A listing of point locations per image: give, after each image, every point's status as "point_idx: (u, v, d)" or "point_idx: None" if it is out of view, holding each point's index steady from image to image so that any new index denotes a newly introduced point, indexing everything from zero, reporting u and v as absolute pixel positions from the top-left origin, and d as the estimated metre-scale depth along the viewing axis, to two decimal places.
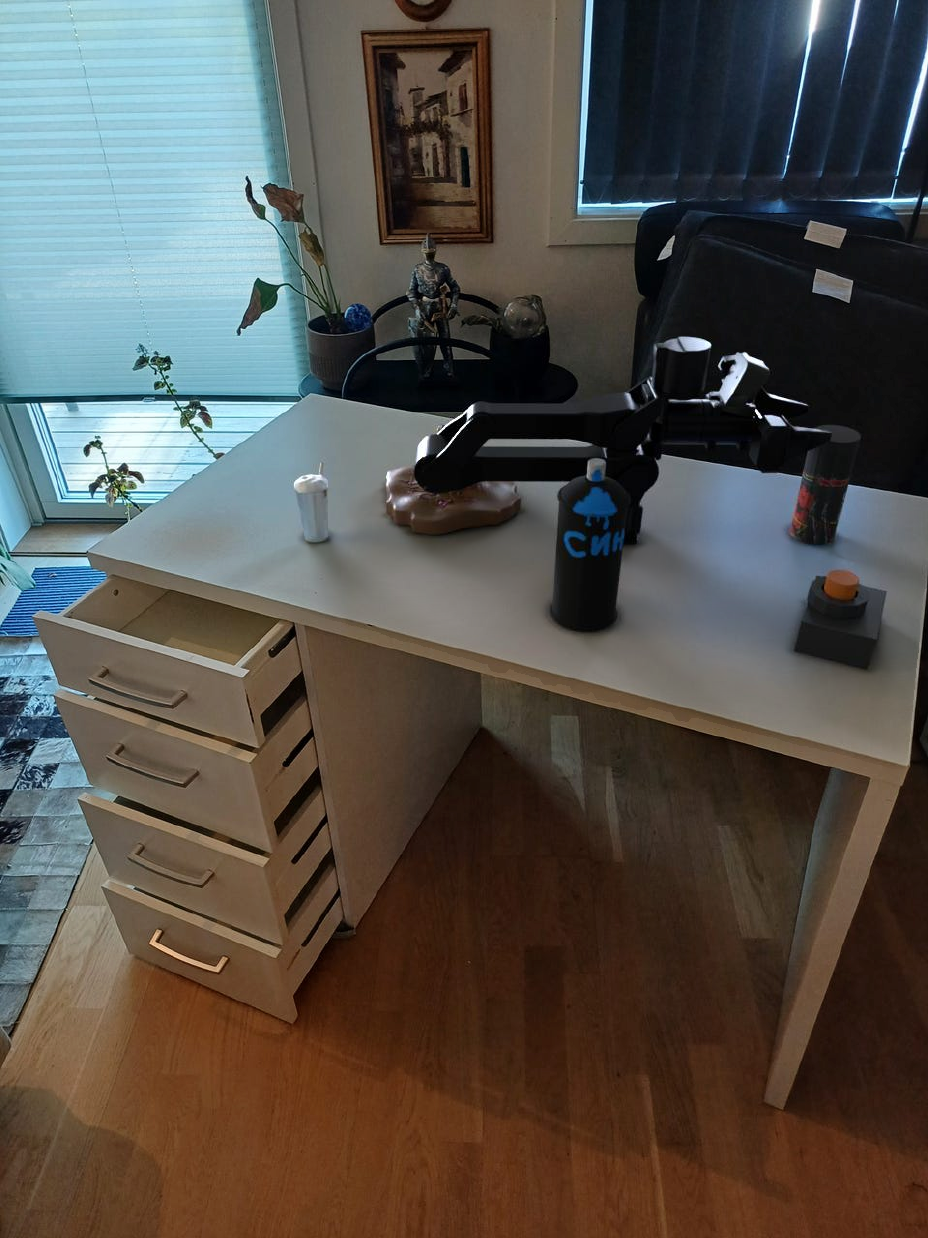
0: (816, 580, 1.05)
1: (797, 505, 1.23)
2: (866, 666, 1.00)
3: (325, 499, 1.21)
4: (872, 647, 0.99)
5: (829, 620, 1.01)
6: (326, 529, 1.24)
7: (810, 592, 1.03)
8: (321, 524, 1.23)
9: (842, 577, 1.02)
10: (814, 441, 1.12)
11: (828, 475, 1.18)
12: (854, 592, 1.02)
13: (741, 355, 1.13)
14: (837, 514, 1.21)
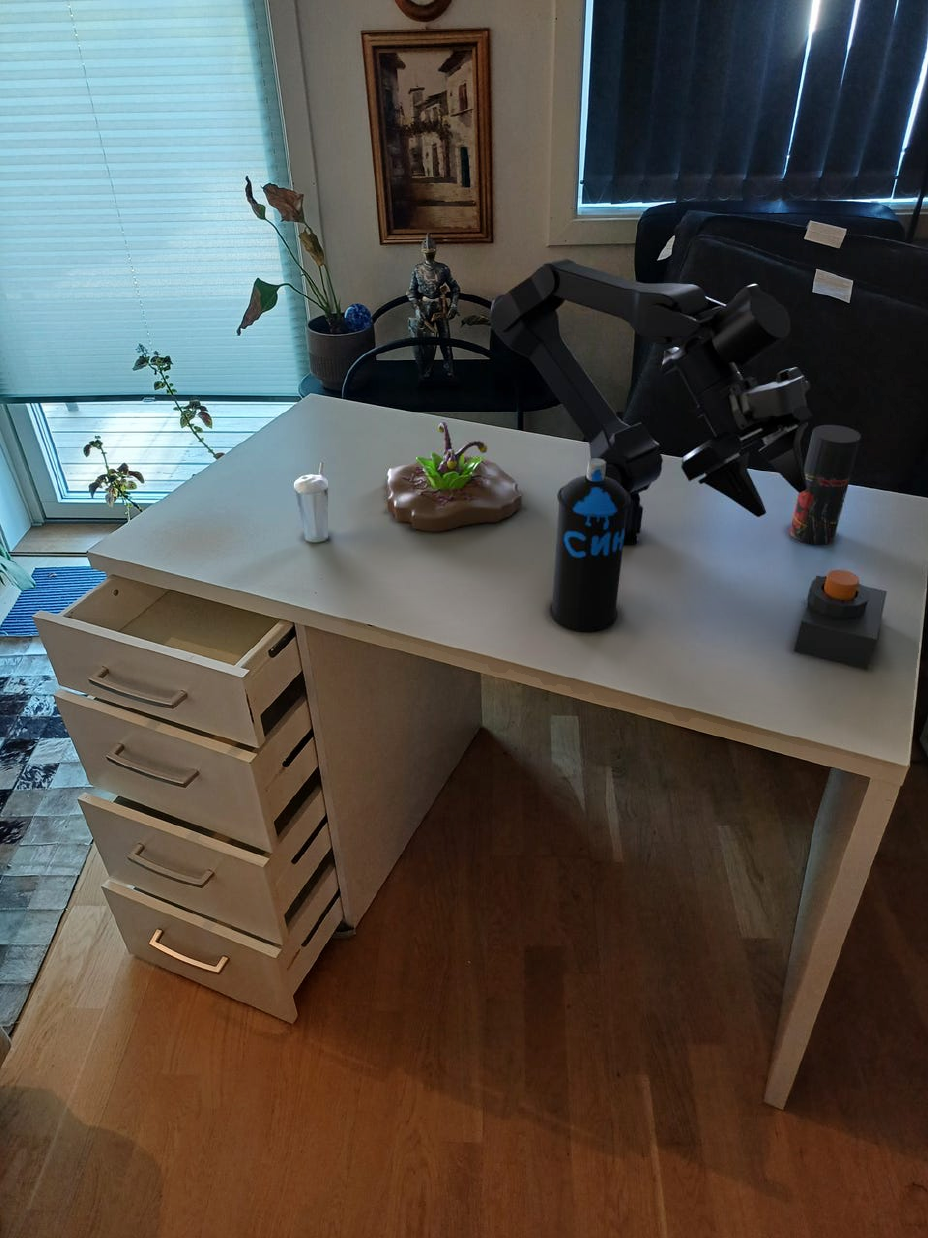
0: (816, 580, 1.05)
1: (797, 505, 1.23)
2: (866, 666, 1.00)
3: (325, 499, 1.21)
4: (872, 647, 0.99)
5: (829, 620, 1.01)
6: (326, 529, 1.24)
7: (810, 592, 1.03)
8: (321, 524, 1.23)
9: (842, 577, 1.02)
10: (746, 501, 1.01)
11: (828, 475, 1.18)
12: (854, 592, 1.02)
13: (796, 379, 0.98)
14: (837, 514, 1.21)
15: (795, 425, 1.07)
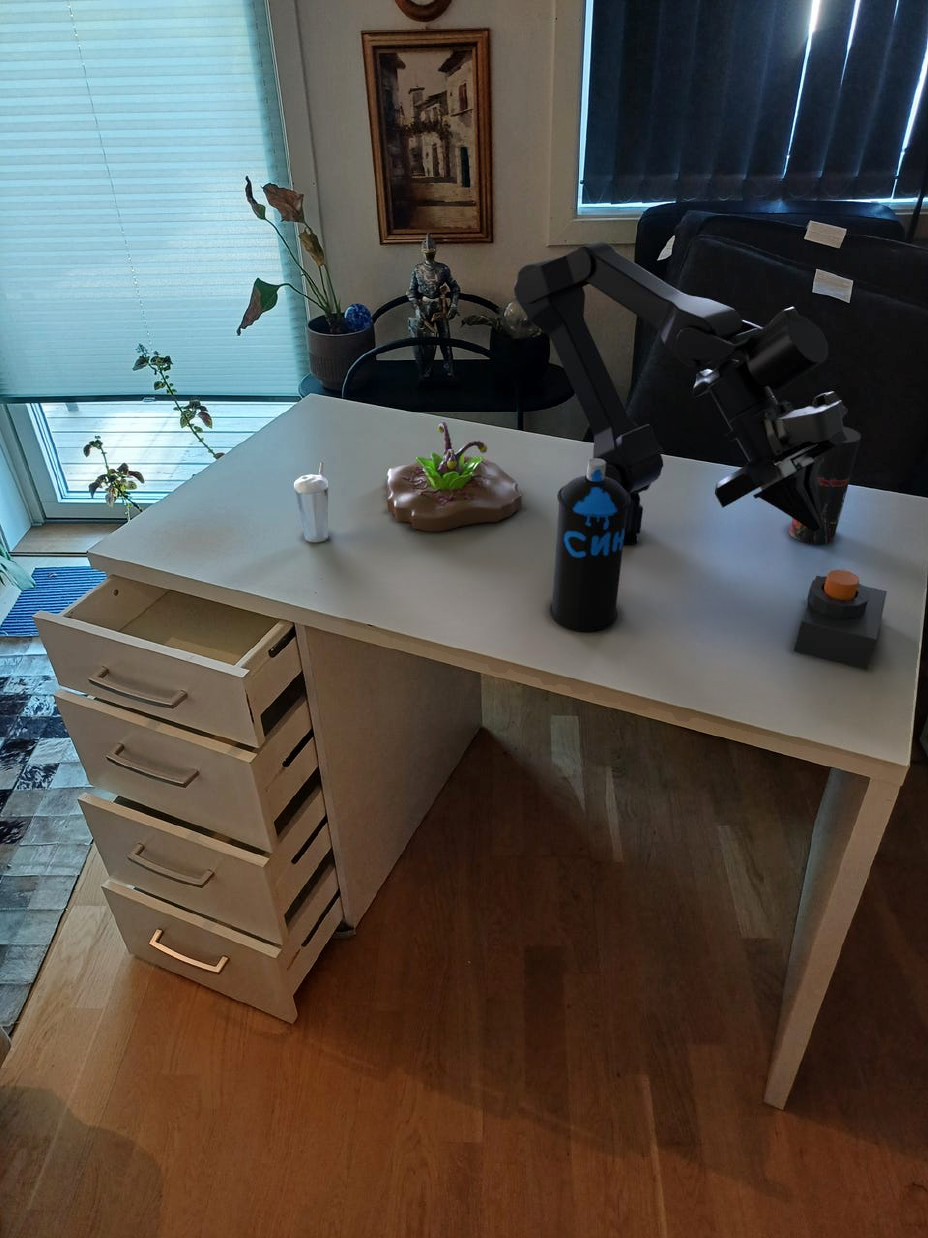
0: (816, 580, 1.05)
1: None
2: (866, 666, 1.00)
3: (325, 499, 1.21)
4: (872, 647, 0.99)
5: (829, 620, 1.01)
6: (326, 529, 1.24)
7: (810, 592, 1.03)
8: (321, 524, 1.23)
9: (842, 577, 1.02)
10: (801, 516, 1.02)
11: (828, 475, 1.18)
12: (854, 592, 1.02)
13: (834, 404, 0.96)
14: (837, 514, 1.21)
15: (811, 460, 1.03)
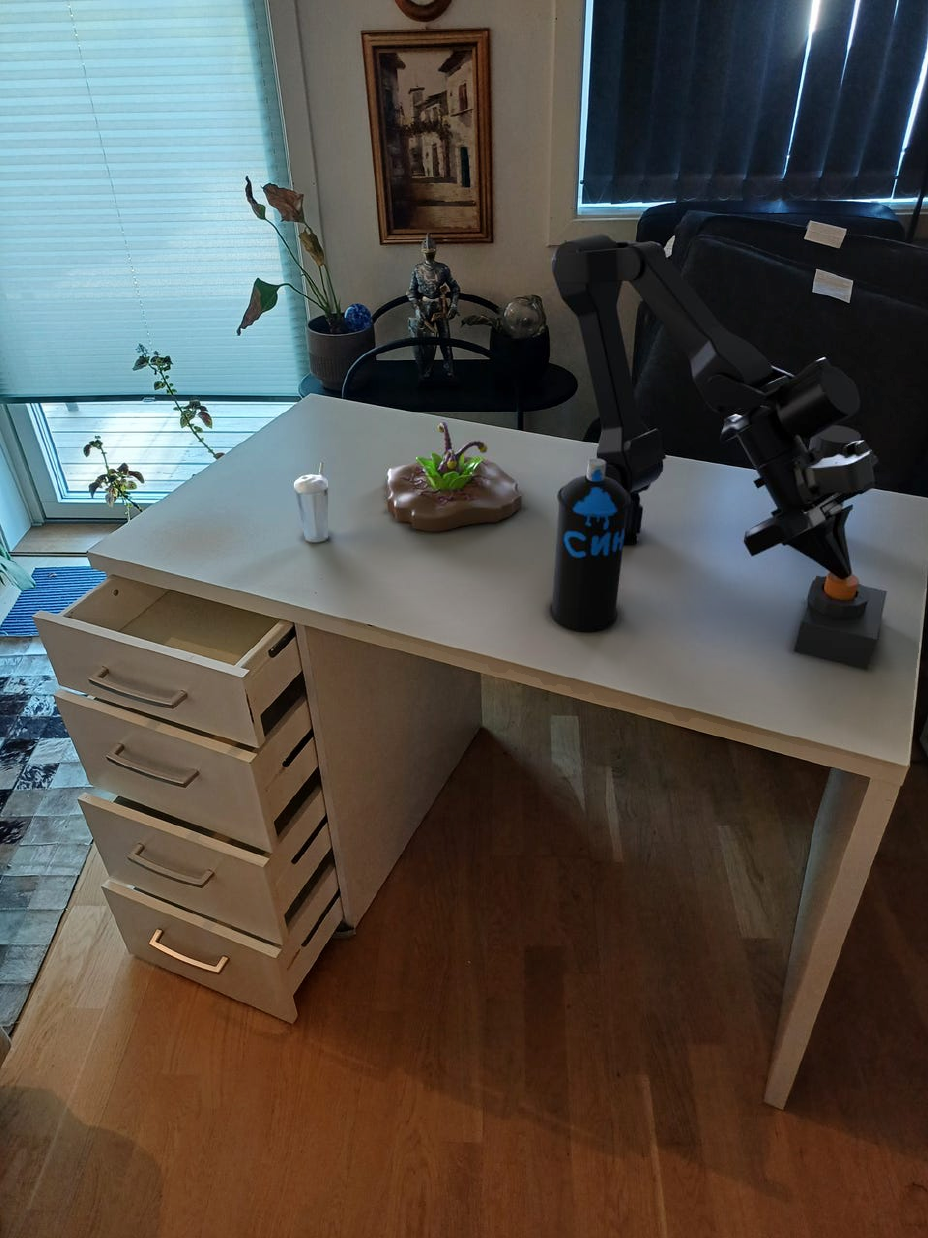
0: (816, 580, 1.05)
1: None
2: (866, 666, 1.00)
3: (325, 499, 1.21)
4: (872, 647, 0.99)
5: (829, 620, 1.01)
6: (326, 529, 1.24)
7: (810, 592, 1.03)
8: (321, 524, 1.23)
9: None
10: (830, 563, 1.01)
11: None
12: (854, 593, 1.02)
13: (865, 454, 0.96)
14: None
15: (839, 507, 1.02)
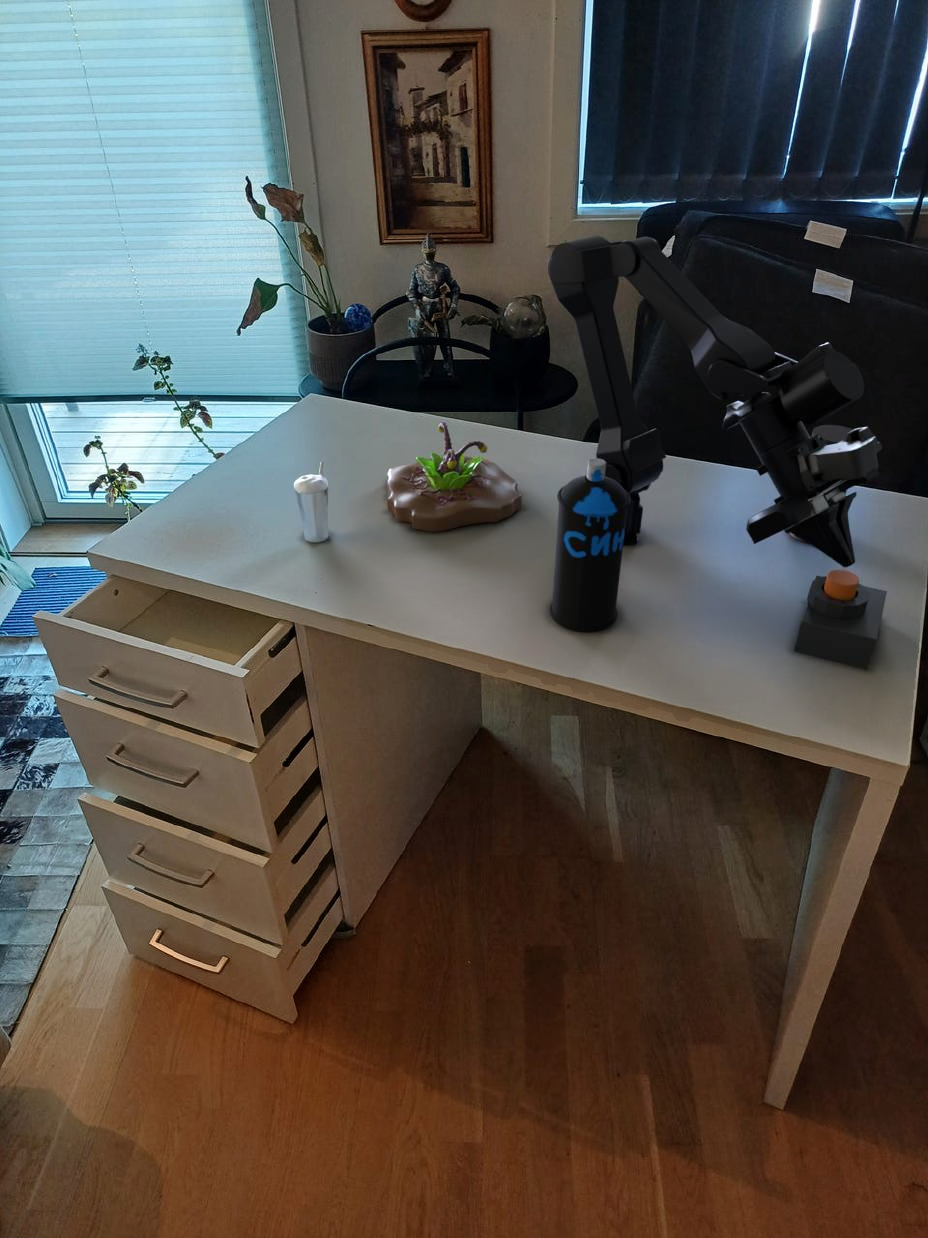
0: (816, 580, 1.05)
1: None
2: (866, 666, 1.00)
3: (325, 499, 1.21)
4: (872, 647, 0.99)
5: (829, 620, 1.01)
6: (326, 529, 1.24)
7: (810, 592, 1.03)
8: (321, 524, 1.23)
9: (842, 577, 1.02)
10: (833, 551, 1.00)
11: None
12: (854, 592, 1.02)
13: (869, 441, 0.95)
14: None
15: (843, 494, 1.01)
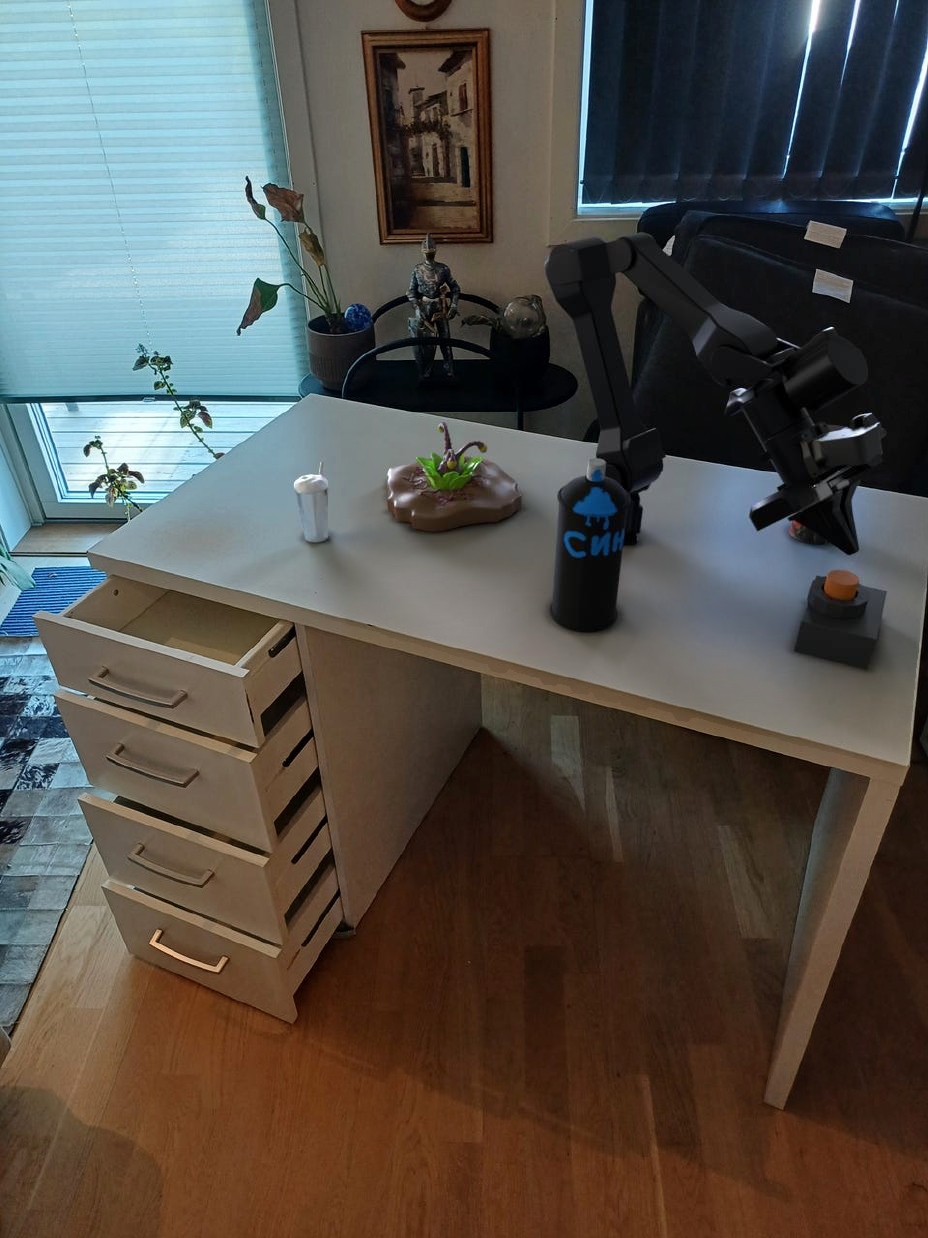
0: (816, 580, 1.05)
1: None
2: (866, 666, 1.00)
3: (325, 499, 1.21)
4: (872, 647, 0.99)
5: (829, 620, 1.01)
6: (326, 529, 1.24)
7: (810, 592, 1.03)
8: (321, 524, 1.23)
9: (842, 577, 1.02)
10: (837, 539, 0.99)
11: None
12: (854, 592, 1.02)
13: (873, 427, 0.94)
14: None
15: (846, 482, 1.00)
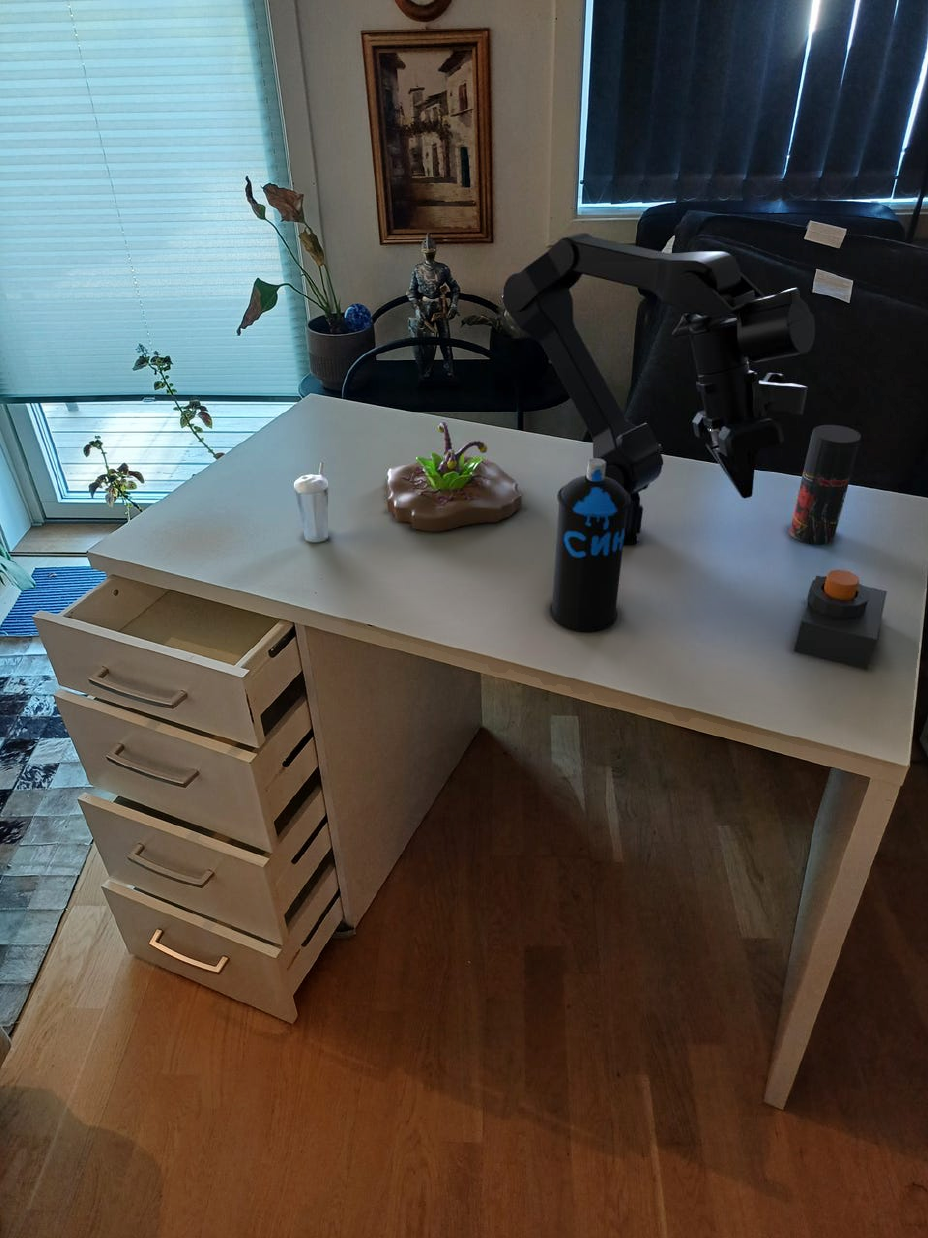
0: (816, 580, 1.05)
1: (797, 505, 1.23)
2: (866, 666, 1.00)
3: (325, 499, 1.21)
4: (872, 647, 0.99)
5: (829, 620, 1.01)
6: (326, 529, 1.24)
7: (810, 592, 1.03)
8: (321, 524, 1.23)
9: (842, 577, 1.02)
10: (743, 481, 1.07)
11: (828, 475, 1.18)
12: (854, 592, 1.02)
13: None
14: (837, 514, 1.21)
15: None
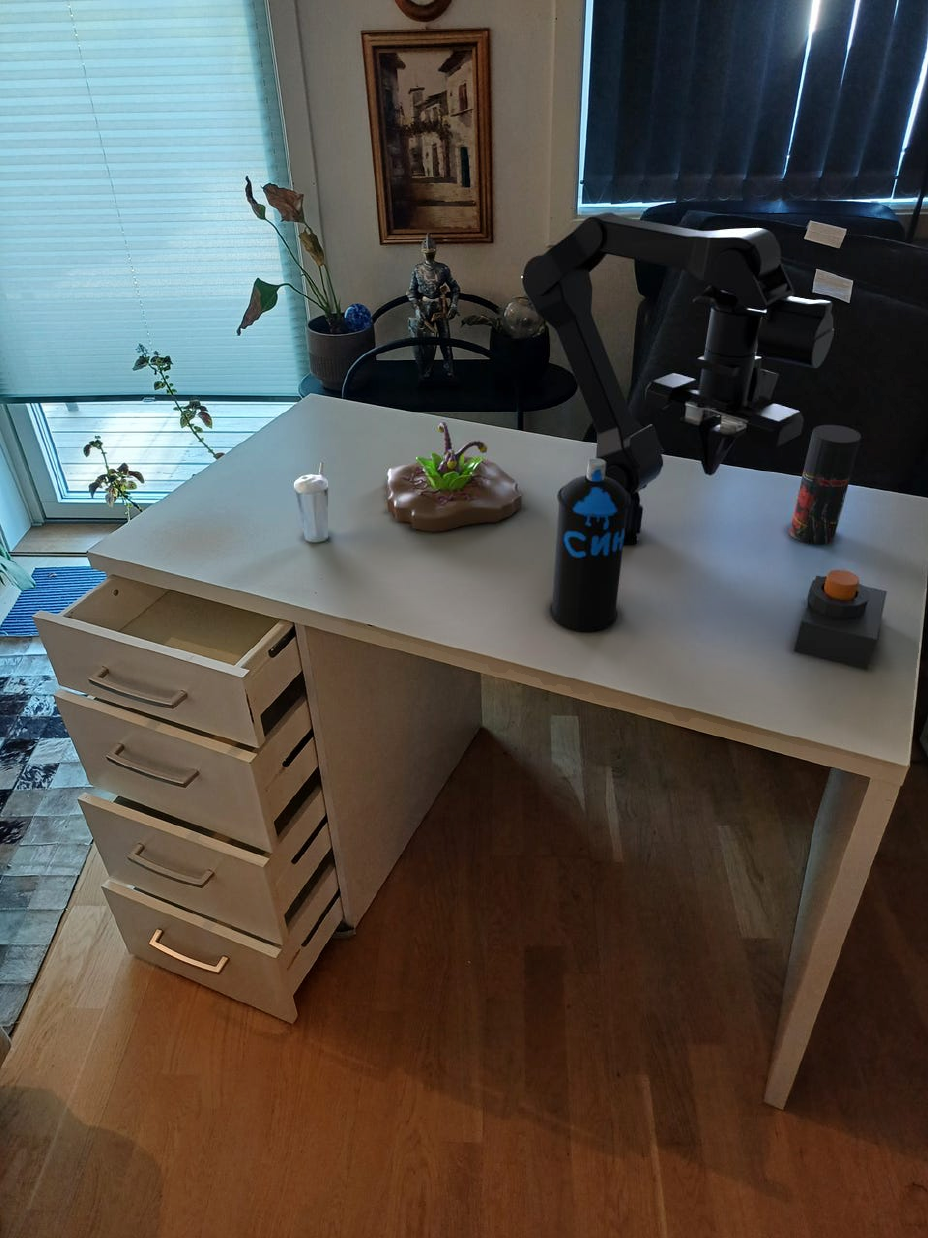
0: (816, 580, 1.05)
1: (797, 505, 1.23)
2: (866, 666, 1.00)
3: (325, 499, 1.21)
4: (872, 647, 0.99)
5: (829, 620, 1.01)
6: (326, 529, 1.24)
7: (810, 592, 1.03)
8: (321, 524, 1.23)
9: (842, 577, 1.02)
10: (718, 460, 1.10)
11: (828, 475, 1.18)
12: (854, 592, 1.02)
13: None
14: (837, 514, 1.21)
15: None
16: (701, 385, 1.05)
